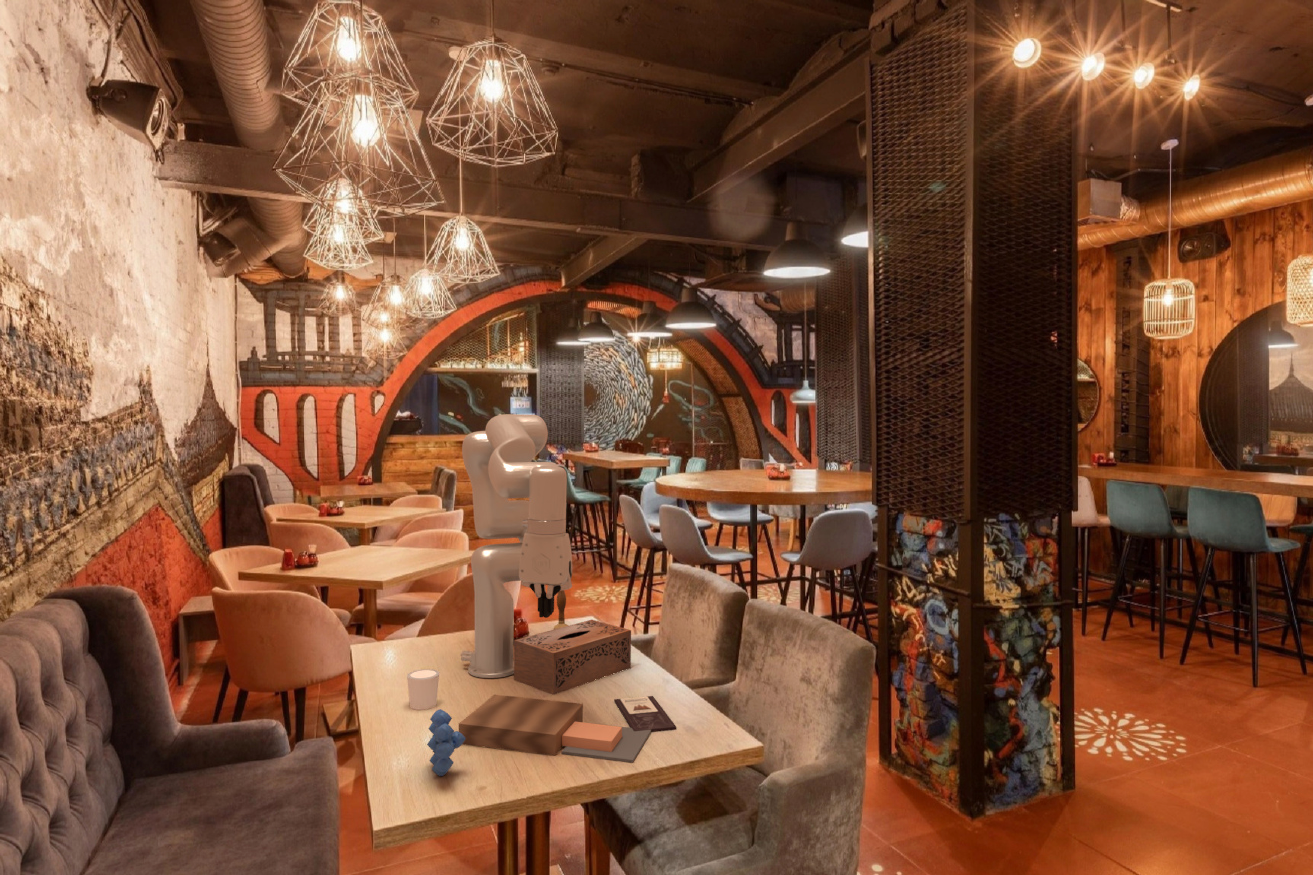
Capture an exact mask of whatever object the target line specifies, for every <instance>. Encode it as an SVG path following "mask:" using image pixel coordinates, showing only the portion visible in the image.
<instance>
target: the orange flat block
mask: <svg viewBox="0 0 1313 875" xmlns="http://www.w3.org/2000/svg"><path fill="white" fill-rule="evenodd" d="M618 726H619V725H611V726H609V724H602V725H601V724H600V723H593V724H592V722H574V723H573V724H572V725H571V726H570V727H569V728H568V729H567V730H566V732H565V733H564V734H563V735H562V746H563V747H566V746H569V747H577V748H585V749H593V750H600V751H608V752H612V750H613V749H614V747H615V746H616V745H617V743H618V742H619V740H620V739H621V738H622V727H623V726H620V727H618Z"/></svg>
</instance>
